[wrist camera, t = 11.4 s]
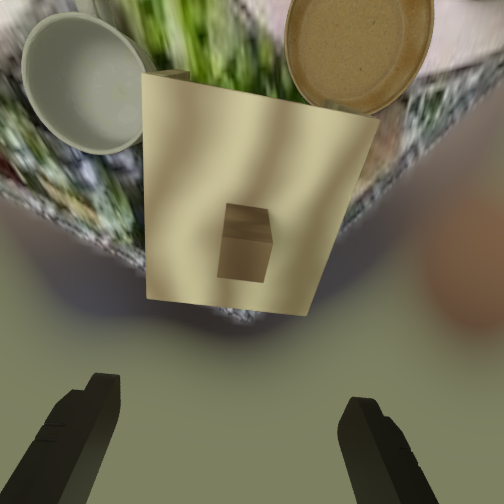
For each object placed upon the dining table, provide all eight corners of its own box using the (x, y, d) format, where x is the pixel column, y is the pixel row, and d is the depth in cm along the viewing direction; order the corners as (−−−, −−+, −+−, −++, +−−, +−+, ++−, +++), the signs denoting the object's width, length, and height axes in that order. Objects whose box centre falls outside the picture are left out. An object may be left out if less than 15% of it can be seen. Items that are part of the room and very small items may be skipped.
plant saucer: (347, -96, 27) (357, -116, 24) (449, 21, 31) (466, 14, 28) (253, 61, 32) (255, 57, 29) (352, 144, 36) (360, 146, 33)
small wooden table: (334, 100, 31) (420, 136, 16) (290, 252, 41) (317, 360, 26) (177, 69, 29) (107, 76, 14) (172, 236, 40) (128, 343, 24)
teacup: (159, 158, 35) (139, 171, 28) (63, 126, 33) (15, 130, 26) (188, 23, 30) (172, -4, 22) (75, -26, 28) (18, -74, 20)
